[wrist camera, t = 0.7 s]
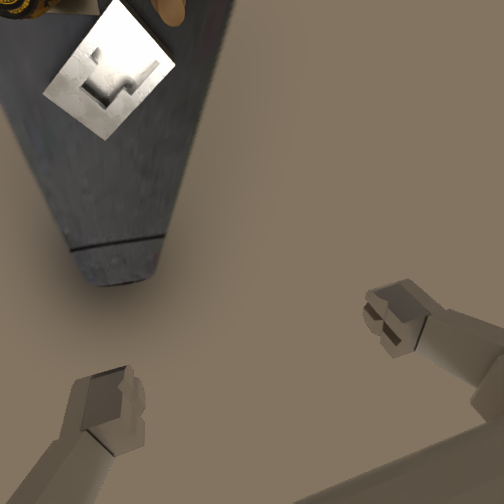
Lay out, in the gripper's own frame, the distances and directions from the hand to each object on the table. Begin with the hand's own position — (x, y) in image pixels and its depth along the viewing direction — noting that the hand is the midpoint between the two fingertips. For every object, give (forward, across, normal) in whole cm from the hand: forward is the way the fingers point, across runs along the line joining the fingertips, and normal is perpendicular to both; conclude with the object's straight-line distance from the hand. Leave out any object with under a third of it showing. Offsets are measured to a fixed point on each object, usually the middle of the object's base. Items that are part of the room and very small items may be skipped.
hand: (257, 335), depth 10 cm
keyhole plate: (+41, +6, -7) cm, 42 cm away
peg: (+39, -2, -13) cm, 42 cm away
